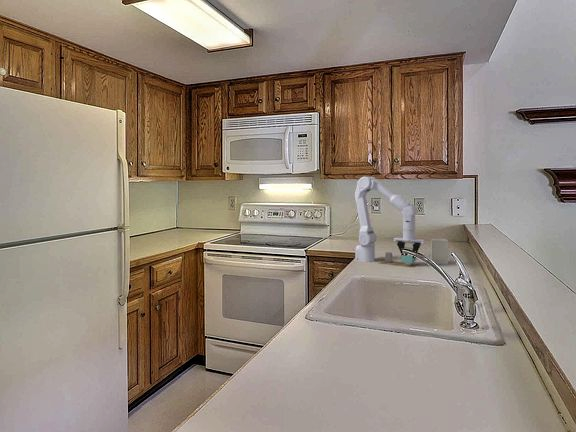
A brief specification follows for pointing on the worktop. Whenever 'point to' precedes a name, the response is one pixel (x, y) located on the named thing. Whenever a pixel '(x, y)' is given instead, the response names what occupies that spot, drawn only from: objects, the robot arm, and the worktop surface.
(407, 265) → the walnut board
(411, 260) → the aqua toy cube
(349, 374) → the worktop surface
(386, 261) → the post
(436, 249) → the supplement box
